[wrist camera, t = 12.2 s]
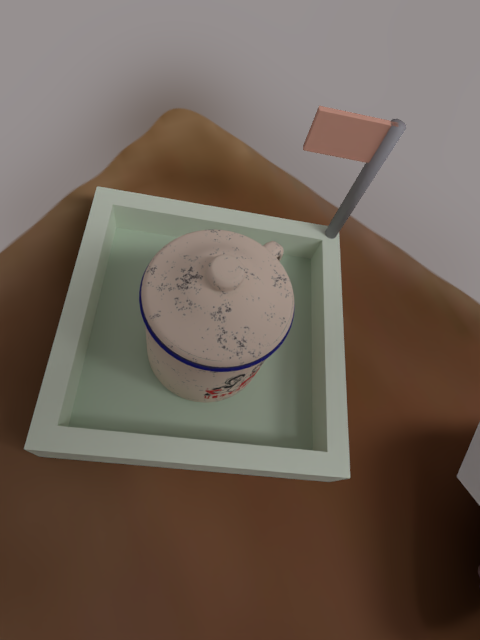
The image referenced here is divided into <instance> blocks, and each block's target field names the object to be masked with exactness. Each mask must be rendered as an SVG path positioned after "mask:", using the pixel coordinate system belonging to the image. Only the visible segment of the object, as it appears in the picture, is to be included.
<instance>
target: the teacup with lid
mask: <svg viewBox="0 0 480 640" xmlns="http://www.w3.org/2000/svg"><path fill="white" fill-rule="evenodd" d="M283 252H284V250H283V247H282V246H281V245H279V244H278V243H277V242H275V241H270V242H268V243H266V244H265V245H261V244H260V243H258V242H257V241H255V240H253V239H251V238H249V237H247V236H244V235H242V234H239V233H235V232H231V231H226V230H215V229H211V230H200V231H195V232H191V233H188V234H185V235H182V236H180V237H178V238H176V239H174V240H172V241H171V242H169V243H168V244H166V245H165V246H164V247H163V248H162V249H161V250H160V251H158V252H157V254H156V255H155V256H154V257H153V259H152V260H151V261H150V263H149V264H148V266H147V268H146V270H145V272H144V274H143V277H142V280H141V284H140V290H139V304H140V310H141V315H142V318H143V321H144V323H145V328H146V343H147V355H148V360H149V363H150V366H151V368H152V370H153V372H154V374H155V376H156V377H157V378H158V380H159V381H160V382H161V383H162V384H163V385H164V386H165V387H166V388H167V389H168V390H169V391H171V392H172V393H174V394H176V395H177V396H179V397H181V398H184V399H187V400H190V401H195V402H204V403H207V402H217V401H221V400H224V399H227V398H230V397H232V396H234V395H235V394H237V393H239V392H240V391H241V390H243V389H244V388H245V387H246V386H247V385H248V384H249V383H250V381H251V380H252V379H253V377H254V376H255V374H256V373H257V372H258V370H259V369H260V367H261V366H262V364H263V363H264V362H265V360H266V359H267V358H268V357H269V356H271V355H272V354H273V353H274V352H275V351H276V350H277V349H278V348H279V347H280V346H281V344H282V343H283V342H284V340H285V339H286V337H287V335H288V333H289V331H290V328H291V326H292V322H293V318H294V309H295V304H294V293H293V288H292V284H291V282H290V279H289V277H288V275H287V273H286V271H285V269H284V267H283V266H282V264H281V263H280V260H281V258H282V256H283Z"/></svg>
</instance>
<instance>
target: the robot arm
mask: <svg viewBox="0 0 480 640" xmlns="http://www.w3.org/2000/svg"><path fill="white" fill-rule="evenodd" d="M457 478H458V479H459V480H460V482H461V483H462V484H463V485H464V487H465V488H466V489H467V490H468V492H469V493H470V494H471V495H472V497H473V498H474V499H475V500H476V502H477V503H478V504H479V505H480V422H479V424H478V427H477V429H476V432H475V434H474V436H473V439H472V441H471V443H470V446H469V448H468V451H467V453H466V455H465V458H464V460H463V462H462V465H461V467H460V469H459V472H458V474H457Z"/></svg>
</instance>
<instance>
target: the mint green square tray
mask: <svg viewBox="0 0 480 640" xmlns="http://www.w3.org/2000/svg"><path fill="white" fill-rule="evenodd" d="M405 129H406V125H405V123H404V122H403V121H401V120H399V119H393V120H391V121H389V120H383V119H379V118H374V117H370V116H365V115H360V114H356V113H351V112H346V111H341V110H336V109H332V108H327V107H323V106H319V108H318V110H317V113H316V115H315V118H314V120H313V123H312V125H311V128H310V130H309V133H308V135H307V138H306V141H305V143H304V145H303V150H305V151H310V152H315V153H320V154H325V155H330V156H336V157H341V158H346V159H351V160H356V161H361V162H366V164H365V165H364V167H363V169H362V171H361V172H360V174H359V176H358V177H357V179H356V181H355V183H354V184H353V186H352V187H351V189H350V191H349V193H348V194H347V196H346V197H345V199H344V201H343V203H342V204H341V206H340V207H339V209H338V211H337V212H336V214H335V216H334V217H333V219H332V221H331V223H330V224H329V226H324V225H318V224H312V223H307V222H301V221H295V220H289V219H283V218H278V217H272V216H266V215H260V214H254V213H249V212H243V211H237V210H231V209H225V208H220V207H214V206H208V205H202V204H196V203H191V202H185V201H179V200H173V199H167V198H162V197H156V196H150V195H144V194H139V193H133V192H127V191H121V190H115V189H110V188H104V187H98V186H97V189H96V192H95V196H94V199H93V203H92V207H91V210H90V214H89V217H88V221H87V224H86V228H85V232H84V235H83V239H82V242H81V246H80V250H79V253H78V257H77V260H76V264H75V267H74V271H73V275H72V278H71V282H70V285H69V289H68V292H67V296H66V300H65V303H64V307H63V310H62V314H61V318H60V321H59V325H58V328H57V332H56V335H55V339H54V343H53V346H52V350H51V353H50V357H49V361H48V364H47V368H46V371H45V375H44V378H43V382H42V386H41V389H40V393H39V396H38V400H37V403H36V407H35V411H34V414H33V418H32V421H31V425H30V429H29V432H28V436H27V439H26V443H25V446H24V450H26V451H28V452H30V453H33V454H35V455H37V456H39V457H49V458H61V459H72V460H83V461H95V462H106V463H118V464H129V465H141V466H152V467H164V468H175V469H187V470H198V471H210V472H221V473H233V474H244V475H256V476H267V477H279V478H290V479H302V480H313V481H324V482H333V481H338V480H344V479H349V478H350V459H349V438H348V416H347V394H346V372H345V351H344V329H343V307H342V285H341V264H340V242H339V231H340V230H341V228H342V227H343V225H344V223H345V222H346V220H347V219H348V217H349V216H350V214H351V213H352V211H353V210H354V208H355V206H356V205H357V203H358V202H359V200H360V199H361V197H362V196H363V194H364V193H365V191H366V189H367V188H368V186H369V185H370V183H371V182H372V180H373V179H374V177H375V175H376V174H377V172H378V171H379V169H380V168H381V166H382V165H383V163H384V161H385V160H386V158H387V157H388V155H389V154H390V152H391V151H392V149H393V148H394V146H395V145H396V143H397V141H398V140H399V138H400V137H401V135H402V134H403V132H404V131H405ZM211 229H215V230H226V231H231V232H235V233H239V234H242V235H244V236H247V237H249V238H251V239H253V240H255V241H257V242H258V243H260V244H261V245H265V244H266V243H268V242H270V241H275V242H277V243H278V244H279V245H281V246H282V247H283V250H284V252H283V256H282V258H281V260H280V263H281V264H282V266H283V267H284V269H285V271H286V273H287V275H288V277H289V279H290V282H291V284H292V288H293V293H294V304H295V309H294V318H293V322H292V326H291V328H290V331H289V333H288V335H287V337H286V339H285V340H284V342H283V343H282V344H281V346H280V347H279V348H278V349H277V350H276V351H275V352H274V353H273V354H272V355H271V356H269V357H268V358H267V359H266V360H265V362H264V363H263V364H262V366H261V367H260V369H259V370H258V372H257V373H256V374H255V376H254V377H253V379H252V380H251V381H250V383H249V384H248V385H247V386H246V387H245V388H244V389H243V390H241V391H240V392H239V393H237V394H235V395H234V396H232V397H230V398H227V399H224V400H221V401H217V402H207V403H204V402H195V401H190V400H187V399H184V398H181V397H179V396H177V395H176V394H174V393H172V392H171V391H169V390H168V389H167V388H166V387H165V386H164V385H163V384H162V383H161V382H160V381H159V380H158V378H157V377H156V376H155V374H154V372H153V370H152V368H151V366H150V363H149V360H148V355H147V343H146V328H145V323H144V321H143V318H142V315H141V310H140V304H139V290H140V284H141V280H142V277H143V274H144V272H145V270H146V268H147V266H148V264H149V263H150V261H151V260H152V259H153V257H154V256H155V255H156V254H157V252H158V251H160V250H161V249H162V248H163V247H164V246H165V245H166V244H168V243H169V242H171V241H172V240H174V239H176V238H178V237H180V236H182V235H185V234H188V233H191V232H195V231H200V230H211Z"/></svg>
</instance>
